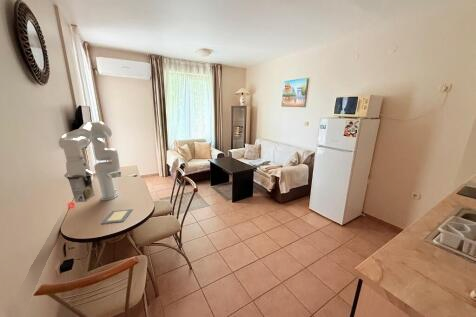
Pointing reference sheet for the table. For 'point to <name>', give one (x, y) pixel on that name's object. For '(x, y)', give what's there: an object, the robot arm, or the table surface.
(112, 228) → the table surface
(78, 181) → the coffee box
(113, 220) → the mat
